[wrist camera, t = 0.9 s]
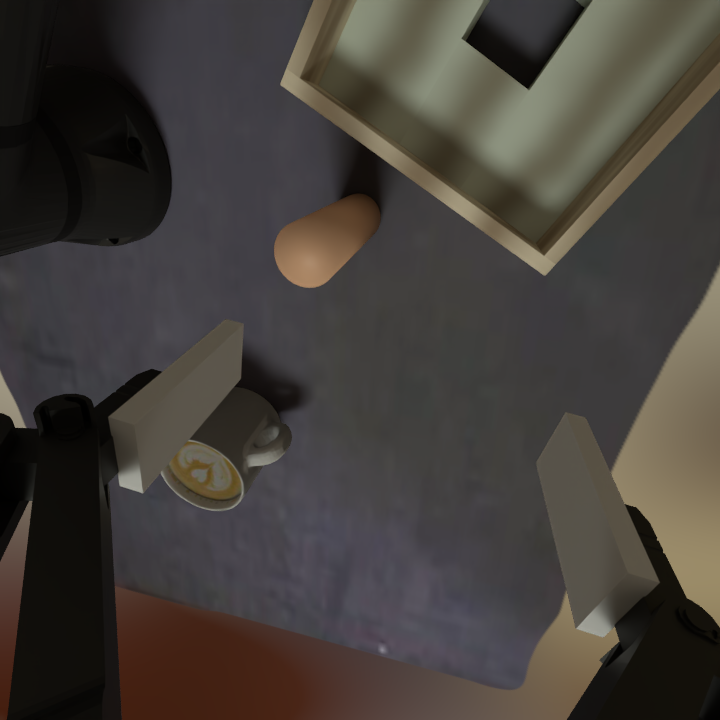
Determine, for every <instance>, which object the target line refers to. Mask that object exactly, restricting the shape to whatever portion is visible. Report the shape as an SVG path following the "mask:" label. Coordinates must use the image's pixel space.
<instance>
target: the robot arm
mask: <svg viewBox="0 0 720 720" xmlns="http://www.w3.org/2000/svg"><path fill="white" fill-rule="evenodd" d="M58 3H59V0H0V256H4V255H8V254H11V253H15V252H19V251H23V250H26V249H30V248H34V247H38V246H41V245H44V244H48V243H52V242H57V241H62V242H72V243H81V244H90V245H99V246H119V245H124V244H127V243H131V242H134V241H137V240H140V239H143V238H145V237H146V236H148V235H150V234H151V233H152V232H153V231H154V230H155V229H156V228H157V227H158V226H159V225H160V223H161V222H162V220H163V218H164V216H165V214H166V211H167V208H168V204H169V199H170V191H171V179H170V170H169V164H168V159H167V155H166V152H165V149H164V146H163V143H162V141H161V138H160V136H159V134H158V132H157V130H156V128H155V126H154V124H153V122H152V121H151V119H150V117H149V116H148V114H147V113H146V112H145V110H144V109H143V107H142V106H141V105H140V104H139V103H138V101H137V100H136V99H135V98H134V97H133V96H132V95H131V94H130V93H129V92H128V91H127V90H126V89H125V88H123V87H122V86H121V85H120V84H118V83H117V82H116V81H114V80H112V79H111V78H109V77H107V76H105V75H103V74H101V73H99V72H96V71H94V70H90V69H85V68H80V67H74V66H69V65H59V64H58V65H46V64H47V59H48V54H49V49H50V44H51V39H52V34H53V28H54V23H55V18H56V13H57V8H58ZM243 325H244V324H242V323H238V322H235V321H231V320H227V319H225V320H224V321H223V322H222V323H221V324H219V325H218V326H217V327H216V328H215V329H213V330H212V331H211V332H210V333H209V334H207V335H206V336H205V337H204V338H203V339H201V340H200V341H199V342H198V343H197V344H195V345H194V346H193V347H192V348H191V349H189V350H188V351H187V352H186V353H185V354H183V355H182V356H181V357H180V358H179V359H177V360H176V361H175V362H174V363H173V364H171V365H170V366H169V367H168V368H167V369H165V370H164V371H163V372H161V371H157V370H154V369H150V370H148V371H145V372H142V373H140V374H137V375H136V376H134V377H133V378H132V379H130V380H129V381H128V382H127V383H125V385H123V386H121V387H120V388H119V389H118V390H116V392H114V393H112V394H111V395H110V396H108V397H107V398H106V399H105V400H103V401H102V402H101V403H99V404H98V405H97V406H96V407H94V406H93V403H92V401H91V399H89V398H88V397H86V396H84V395H79V394H63V395H59V396H54V397H52V398H49V399H47V400H45V401H43V402H42V403H41V404H39V405H38V406H37V407H36V408H35V410H34V412H33V415H34V418H35V421H36V425H37V428H38V429H31V428H15V427H14V424H13V421H12V419H11V418H10V417H9V416H7V415H5V414H2V413H0V561H1V559H2V556H3V554H4V552H5V550H6V548H7V546H8V544H9V542H10V540H11V538H12V536H13V533H14V531H15V529H16V527H17V525H18V523H19V521H20V519H21V517H22V515H23V512H24V510H25V508H26V506H27V504H28V502H29V501H33V502H32V510H31V518H30V527H29V536H28V544H27V553H26V561H25V570H24V580H23V587H22V596H21V604H20V613H19V623H18V630H17V639H16V648H15V656H14V665H13V673H12V683H11V692H10V699H9V708H8V716H7V720H122V716H121V697H120V679H119V659H118V641H117V623H116V604H115V585H114V566H113V548H112V529H111V511H110V492H109V485H108V482H109V481H110V480H111V479H112V478H113V477H114V476H115V475H116V474H117V473H118V478H119V483H120V486H122V487H125V488H128V489H131V490H134V491H138V492H141V493H144V492H145V490H146V489H147V488H148V487H149V486H150V485H151V483H152V482H153V481H154V480H155V479H156V478H157V476H158V475H159V474H160V473H161V472H162V470H163V469H164V468H165V467H166V466H167V465H168V463H169V462H170V461H171V460H172V459H173V458H174V456H175V455H176V454H177V453H178V452H179V451H180V449H181V448H182V447H183V446H184V445H185V444H186V442H187V441H188V440H189V439H190V438H191V437H192V435H193V434H194V433H195V432H196V431H197V430H198V428H199V427H200V426H201V425H202V424H203V423H204V421H205V420H206V419H207V418H208V417H209V416H210V414H211V413H212V412H213V411H214V410H215V409H216V407H217V406H218V405H219V404H220V403H221V402H222V400H223V399H224V398H225V397H226V396H227V395H228V393H229V392H230V391H231V390H232V389H233V388H234V386H235V385H236V384H237V383H238V382H239V380H240V379H241V367H242V346H243ZM536 465H537V469H538V474H539V478H540V482H541V486H542V490H543V494H544V499H545V503H546V507H547V511H548V515H549V519H550V523H551V528H552V532H553V536H554V540H555V544H556V548H557V553H558V557H559V561H560V565H561V569H562V573H563V577H564V582H565V586H566V590H567V594H568V598H569V602H570V606H571V611H572V614H573V619H574V623H575V627H576V629H578V630H582V631H585V632H588V633H591V634H594V635H598V636H601V637H604V636H605V635H606V634H607V633H608V632H609V631H610V630H611V629H612V628H614V627H615V628H616V631H617V634H618V637H619V641H620V642H619V643H618V644H616V645H615V646H614V647H613V648H612V649H611V650H610V651H609V652H608V653H607V654H605V655H604V656H603V657H602V658H601V659H600V661H601V662H602V663H603V664H602V666H601V667H600V669H599V670H598V672H597V674H596V675H595V677H594V678H593V680H592V681H591V683H590V684H589V686H588V688H587V689H586V691H585V692H584V694H583V695H582V697H581V699H580V700H579V702H578V703H577V705H576V706H575V708H574V709H573V711H572V712H571V714H570V716H569V717H568V719H567V720H720V627H719V626H718V625H717V623H716V622H715V621H714V619H713V618H712V617H711V616H710V615H709V614H708V613H707V612H706V611H705V610H704V609H703V608H702V607H700V606H699V605H697V604H696V603H694V602H693V601H691V600H689V599H687V598H686V596H685V594H684V591H683V589H682V587H681V585H680V584H679V581H678V579H677V577H676V575H675V573H674V571H673V569H672V567H671V565H670V563H669V561H668V559H667V557H666V555H665V554H664V553H663V549H662V547H661V545H660V543H659V541H657V537H656V535H655V533H654V531H653V529H652V527H651V524H650V523H649V521H648V520H647V519H646V518H645V517H644V516H643V515H642V514H641V512H640V511H639V510H638V509H637V508H636V507H633V506H629V505H626V504H624V502H623V500H622V498H621V495H620V493H619V491H618V489H617V487H616V484H615V482H614V480H613V478H612V475H611V473H610V471H609V469H608V466H607V464H606V462H605V460H604V457H603V455H602V453H601V451H600V449H599V446H598V444H597V442H596V440H595V437H594V435H593V433H592V431H591V429H590V426H589V424H588V422H587V420H586V418H585V417H581V416H577V415H574V414H570V413H566V412H565V414H564V416H563V418H562V419H561V421H560V423H559V424H558V426H557V428H556V430H555V431H554V433H553V435H552V436H551V438H550V440H549V441H548V443H547V445H546V447H545V448H544V450H543V452H542V453H541V455H540V457H539V459H538V460H537V462H536Z"/></svg>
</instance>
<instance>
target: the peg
mask: <svg viewBox="0 0 720 720" xmlns="http://www.w3.org/2000/svg"><path fill="white" fill-rule="evenodd" d="M380 220H381V216H380V210H379V208H378V206H377V204H376V202H375V201H374V200H373V199H372V198H370V197H369V196H367V195H365V194H360V193H356V194H352V195H349V196H347V197H345V198H343V199H341V200H339V201H337V202H334V203H332V204H330V205H328V206H326V207H324V208H322V209H320V210H318V211H315V212H313V213H311V214H309V215H307V216H305V217H303V218H301V219H299V220H297V221H294V222H292V223H290V224H288V225H287V226H285V227H284V228H283V229H282V230H281V231H280V232H279V234H278V236H277V238H276V241H275V246H274V255H275V260H276V263H277V265H278V267H279V269H280V271H281V272H282V274H283V275H284V276H285V277H286V278H287V279H288V280H289V281H291V282H292V283H294V284H296V285H298V286H301V287H306V288H312V287H318V286H320V285H323V284H324V283H326V282H327V281H328V280H329V279H330V278H331V277H332V276H333V275H334V274H335V273H336V272H337V271H338V270H339V269H340V268H341V267H342V266H343V265H344V264H345V263H346V262H347V261H348V260H349V259H350V258H351V257H352V256H353V255H354V254H355V253H356V252H357V251H358V250H359V249H360V248H361V247H362V246H363V245H364V244H365V243H366V242H367V241H368V240H369V239H370V238H371V237H372V236H373V235H374V234H375V232H376V231H377V229H378V228H379V225H380Z"/></svg>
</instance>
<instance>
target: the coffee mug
mask: <svg viewBox="0 0 720 720" xmlns="http://www.w3.org/2000/svg"><path fill="white" fill-rule="evenodd" d="M291 440H292V434H291V431H290V429H289V427H288V426H287V425H286V424H283V423H281V421H280V418H279V416H278V414H277V412H276V411H275V409H274V408H273V406H272V405H271V404H270V403H269V402H268V401H267V400H266V399H265V398H263V397H262V396H260V395H259V394H257V393H255V392H253V391H251V390H248V389H245V388H239V387H234V388H233V389H232V390H231V391H230V392H229V393H228V395H227V396H226V397H225V398H224V399H223V400H222V402H221V403H220V404H219V405H218V406H217V407H216V409H215V410H214V411H213V412H212V413H211V414H210V416H209V417H208V418H207V419H206V420H205V421H204V423H203V424H202V425H201V426H200V427H199V428H198V430H197V431H196V432H195V433H194V434H193V435H192V437H191V438H190V439H189V440H188V441H187V442H186V444H185V445H184V446H183V447H182V448H181V449H180V451H179V452H178V453H177V454H176V455H175V456H174V458H173V459H172V460H171V461H170V462H169V463H168V465H167V466H166V467H165V468H164V469H163V470H162V472H161V475H162V477H163V478H164V480H165V482H166V483H167V484H168V486H169V487H170V488H171V489H172V490H173V491H174V492H175V493H176V494H177V495H179V496H180V497H181V498H183V499H184V500H186V501H187V502H189V503H191V504H193V505H195V506H197V507H200V508H203V509H207V510H212V511H224V510H229V509H231V508H233V507H235V506H236V505H238V504H239V503H240V502H241V500H242V499H243V497H244V496H245V494H246V493H247V491H248V489H249V488H250V486H251V485H252V483H253V481H254V480H255V478H256V477H257V475H258V473H259V472H260V470H261V469H262V467H263V465H267V464H270V463H273V462H274V461H277V460H278V459H279V458H280V457H281V456H282V455H283V454H284V453H285V452H286V451H287V449H288V448H289V446H290V443H291Z"/></svg>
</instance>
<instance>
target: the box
mask: <svg viewBox="0 0 720 720" xmlns="http://www.w3.org/2000/svg"><path fill="white" fill-rule="evenodd" d="M489 1H490V0H314V1H313V3H312V6H311V8H310V11H309V13H308V16H307V18H306V21H305V24H304V26H303V29H302V31H301V34H300V36H299V39H298V41H297V44H296V46H295V49H294V51H293V54H292V56H291V59H290V61H289V64H288V66H287V69H286V71H285V74H284V76H283V79H282V81H281V84H280V85H281V86H283V87H284V88H285V89H287V90H288V91H290V92H291V93H292V94H294V95H295V96H296V97H298V98H299V99H301V100H302V101H303V102H305V103H306V104H308V105H309V106H310V107H312V108H313V109H314V110H316V111H317V112H319V113H320V114H321V115H323V116H324V117H326V118H327V119H328V120H330V121H331V122H332V123H334V124H335V125H337V126H338V127H339V128H341V129H342V130H344V131H345V132H346V133H348V134H349V135H350V136H352V137H353V138H355V139H356V140H357V141H359V142H360V143H362V144H363V145H364V146H366V147H367V148H368V149H370V150H371V151H373V152H374V153H375V154H377V155H378V156H380V157H381V158H382V159H384V160H385V161H386V162H388V163H389V164H391V165H392V166H393V167H395V168H396V169H398V170H399V171H400V172H402V173H403V174H404V175H406V176H407V177H409V178H410V179H411V180H413V181H414V182H415V183H417V184H418V185H420V186H421V187H422V188H424V189H425V190H427V191H428V192H429V193H431V194H432V195H433V196H435V197H436V198H438V199H439V200H440V201H442V202H443V203H445V204H446V205H447V206H449V207H450V208H451V209H453V210H454V211H456V212H457V213H458V214H460V215H461V216H463V217H464V218H465V219H467V220H468V221H469V222H471V223H472V224H474V225H475V226H476V227H478V228H479V229H481V230H482V231H483V232H485V233H486V234H487V235H489V236H490V237H492V238H493V239H494V240H496V241H497V242H499V243H500V244H501V245H503V246H504V247H505V248H507V249H508V250H510V251H511V252H512V253H514V254H515V255H517V256H518V257H519V258H521V259H522V260H523V261H525V262H526V263H528V264H529V265H530V266H532V267H533V268H535V269H536V270H537V271H539V272H540V273H541V274H543V275H544V276H545V275H546V274H547V273H548V272H549V271H550V270H551V269H552V268H553V267H554V266H555V264H556V263H557V262H558V261H559V260H560V259H561V258H562V257H563V256H564V255H565V254H566V253H567V252H568V251H569V249H570V248H571V247H572V246H573V245H574V244H575V243H576V242H577V241H578V240H579V239H580V238H581V237H582V236H583V235H584V233H585V232H586V231H587V230H588V229H589V228H590V227H591V226H592V225H593V224H594V223H595V222H596V221H597V220H598V218H599V217H600V216H601V215H602V214H603V213H604V212H605V211H606V210H607V209H608V208H609V207H610V206H611V205H612V203H613V202H614V201H615V200H616V199H617V198H618V197H619V196H620V195H621V194H622V193H623V192H624V191H625V190H626V188H627V187H628V186H629V185H630V184H631V183H632V182H633V181H634V180H635V179H636V178H637V177H638V176H639V175H640V174H641V172H642V171H643V170H644V169H645V168H646V167H647V166H648V165H649V164H650V163H651V162H652V161H653V160H654V159H655V157H656V156H657V155H658V154H659V153H660V152H661V151H662V150H663V149H664V148H665V147H666V146H667V145H668V144H669V142H670V141H671V140H672V139H673V138H674V137H675V136H676V135H677V134H678V133H679V132H680V131H681V130H682V129H683V127H684V126H685V125H686V124H687V123H688V122H689V121H690V120H691V119H692V118H693V117H694V116H695V115H696V114H697V113H698V111H699V110H700V109H701V108H702V107H703V106H704V105H705V104H706V103H707V102H708V101H709V100H710V99H711V98H712V96H713V95H714V94H715V93H716V92H717V91H718V90H719V89H720V0H576V1H577V2H578V3H579V4H581V5H582V6H583V7H584V10H583V11H582V13H581V14H580V16H579V17H578V18H577V20H576V21H575V23H574V24H573V26H572V27H571V28H570V30H569V31H568V33H567V34H566V36H565V37H564V38H563V40H562V41H561V43H560V44H559V46H558V47H557V48H556V50H555V51H554V53H553V54H552V55H551V57H550V58H549V60H548V61H547V63H546V64H545V65H544V67H543V68H542V70H541V71H540V73H539V74H538V75H537V77H536V78H535V80H534V81H533V83H532V84H531V85H530V87H529V88H528V89H527V88H525V87H524V86H523V85H521V84H520V83H519V82H518V81H516V80H515V79H514V78H512V77H511V76H510V75H508V74H507V73H506V72H504V71H503V70H502V69H501V68H499V67H498V66H497V65H495V64H494V63H493V62H491V61H490V60H489V59H488V58H486V57H485V56H484V55H482V54H481V53H480V52H478V51H477V50H476V49H474V48H473V47H472V46H471V45H469V44H468V43H467V42H465V41H466V40H467V38H468V36H469V35H470V33H471V31H472V30H473V28H474V26H475V24H476V23H477V21H478V19H479V18H480V16H481V14H482V13H483V11H484V9H485V8H486V6H487V4H488V3H489Z"/></svg>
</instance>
